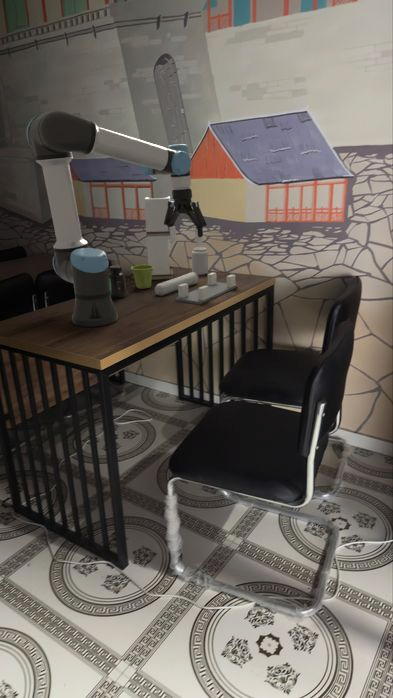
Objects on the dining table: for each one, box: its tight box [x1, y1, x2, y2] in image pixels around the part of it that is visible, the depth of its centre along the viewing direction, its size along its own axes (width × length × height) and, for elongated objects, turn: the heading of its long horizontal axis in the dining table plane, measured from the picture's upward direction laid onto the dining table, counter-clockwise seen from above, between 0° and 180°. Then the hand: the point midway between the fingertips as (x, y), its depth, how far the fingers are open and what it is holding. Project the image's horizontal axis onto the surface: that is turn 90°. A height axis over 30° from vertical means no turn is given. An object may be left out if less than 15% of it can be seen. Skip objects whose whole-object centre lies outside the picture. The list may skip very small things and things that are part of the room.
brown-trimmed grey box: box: [144, 196, 174, 280], centre depth 223 cm, size 11×11×35 cm
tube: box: [154, 271, 199, 297], centre depth 205 cm, size 5×5×25 cm
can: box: [191, 247, 209, 276], centre depth 230 cm, size 8×8×12 cm
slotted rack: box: [175, 272, 239, 305], centre depth 197 cm, size 11×30×6 cm, turn 148°
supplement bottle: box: [108, 264, 127, 299], centre depth 195 cm, size 7×7×12 cm
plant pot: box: [130, 264, 154, 290], centre depth 209 cm, size 9×9×9 cm
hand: (186, 244), depth 196 cm, fingers open, 13 cm apart
